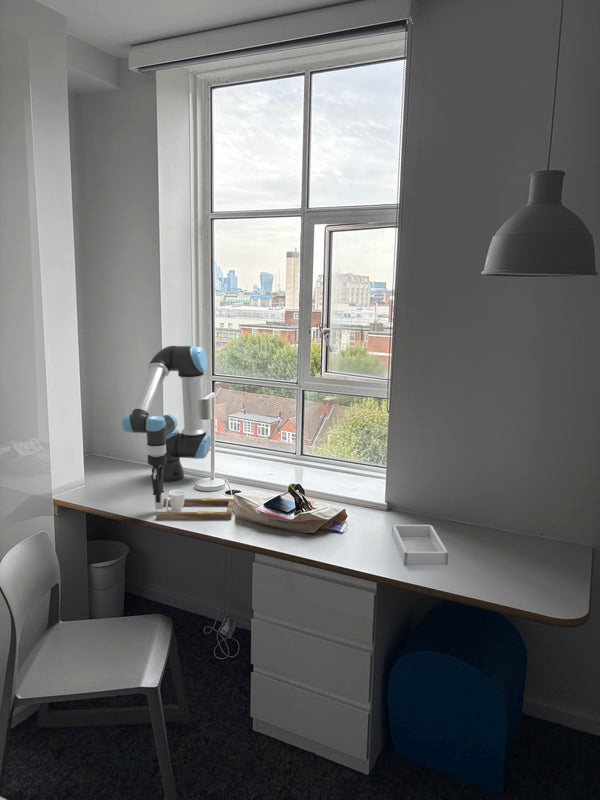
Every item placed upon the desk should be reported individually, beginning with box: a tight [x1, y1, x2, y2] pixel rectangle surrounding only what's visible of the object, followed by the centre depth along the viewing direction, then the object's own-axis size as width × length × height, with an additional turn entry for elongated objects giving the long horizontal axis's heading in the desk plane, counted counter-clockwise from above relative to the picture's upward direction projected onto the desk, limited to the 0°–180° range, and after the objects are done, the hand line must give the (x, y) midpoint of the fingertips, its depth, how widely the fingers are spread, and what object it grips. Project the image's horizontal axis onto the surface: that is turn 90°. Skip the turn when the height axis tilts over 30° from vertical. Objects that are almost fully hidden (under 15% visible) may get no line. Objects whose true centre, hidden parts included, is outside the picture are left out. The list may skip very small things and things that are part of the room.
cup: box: [165, 489, 186, 512], centre depth 254 cm, size 7×10×8 cm
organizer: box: [391, 524, 449, 566], centre depth 221 cm, size 24×15×4 cm, turn 2°
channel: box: [155, 497, 235, 521], centre depth 255 cm, size 17×30×3 cm, turn 92°
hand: (159, 508), depth 254 cm, fingers closed
